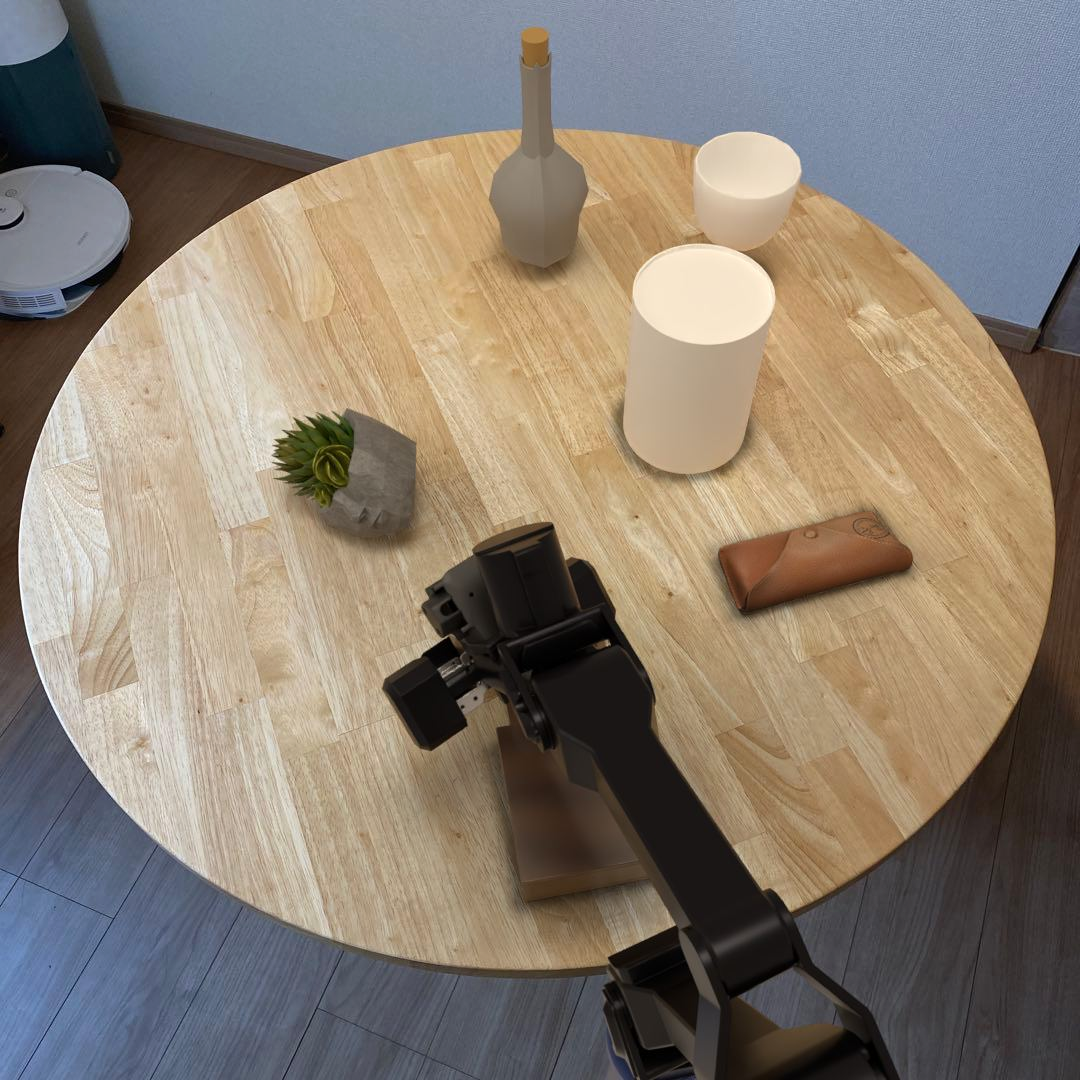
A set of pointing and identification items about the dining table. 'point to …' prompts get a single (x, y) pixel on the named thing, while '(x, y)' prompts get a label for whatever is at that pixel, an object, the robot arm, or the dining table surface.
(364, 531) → the potted plant
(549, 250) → the bottle
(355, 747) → the dining table surface
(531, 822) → the cabinet
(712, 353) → the canister
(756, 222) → the cup
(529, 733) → the robot arm
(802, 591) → the sunglasses case
